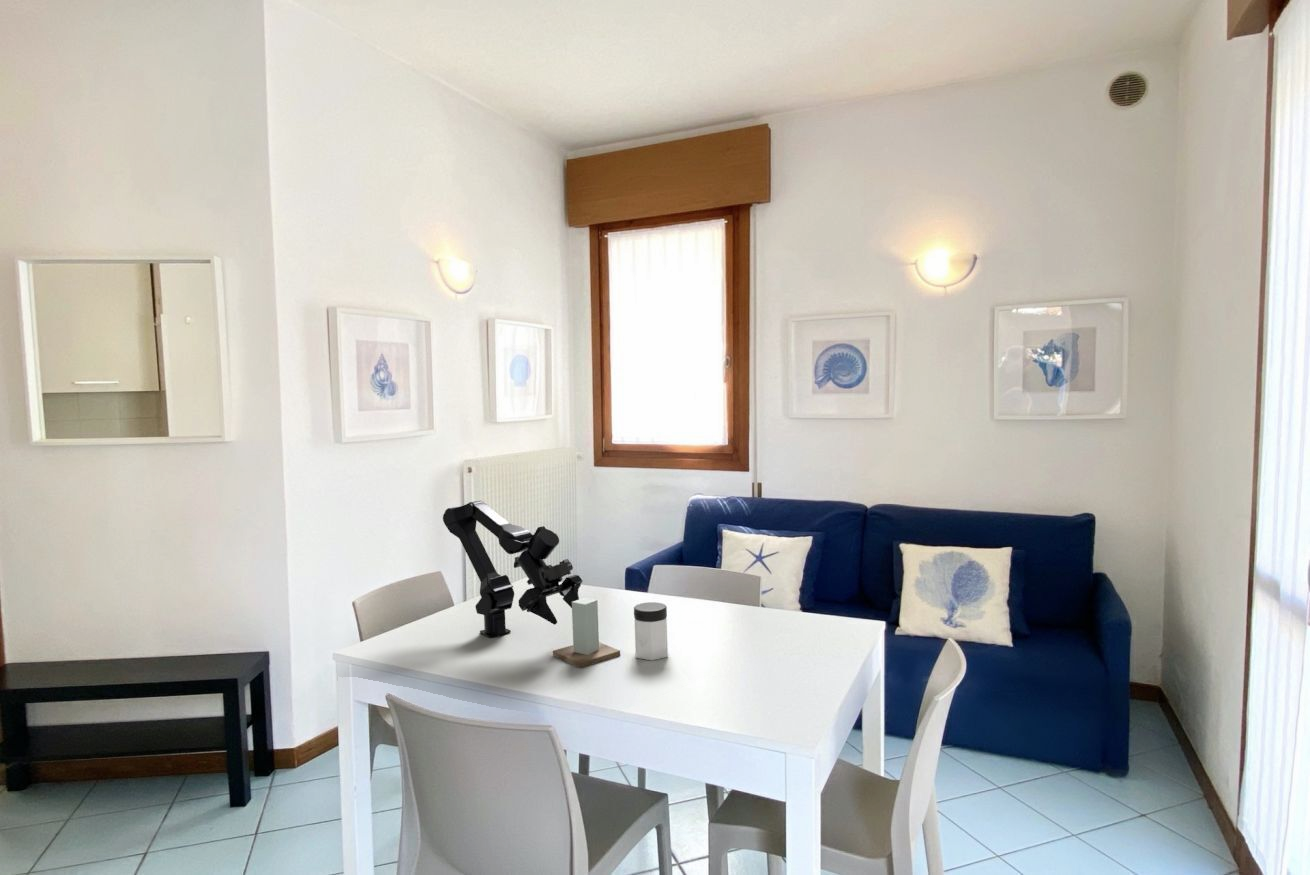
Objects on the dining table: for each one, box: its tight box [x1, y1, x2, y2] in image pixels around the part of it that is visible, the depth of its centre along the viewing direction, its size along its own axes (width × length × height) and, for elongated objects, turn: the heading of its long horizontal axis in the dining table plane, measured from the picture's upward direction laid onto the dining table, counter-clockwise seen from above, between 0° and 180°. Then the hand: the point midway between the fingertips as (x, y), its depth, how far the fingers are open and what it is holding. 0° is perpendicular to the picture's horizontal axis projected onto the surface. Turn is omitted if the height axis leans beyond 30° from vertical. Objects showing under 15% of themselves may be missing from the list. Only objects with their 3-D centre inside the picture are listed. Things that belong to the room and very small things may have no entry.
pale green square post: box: [571, 597, 600, 655], centre depth 174 cm, size 4×4×12 cm
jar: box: [633, 601, 669, 661], centre depth 174 cm, size 9×8×12 cm
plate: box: [552, 641, 621, 669], centre depth 175 cm, size 12×12×1 cm
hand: (568, 618), depth 177 cm, fingers open, 9 cm apart
